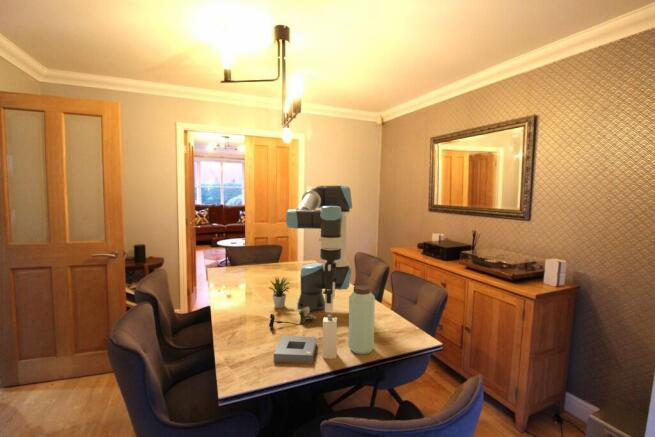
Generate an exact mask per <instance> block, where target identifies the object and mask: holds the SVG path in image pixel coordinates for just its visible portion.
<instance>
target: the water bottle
mask: <svg viewBox="0 0 655 437" xmlns="http://www.w3.org/2000/svg"><path fill="white" fill-rule="evenodd" d="M371 289H372V287H371V286H369V285H366V284H355V285H354V286H353V291H352V293H351V294H350V295H349V296H348V301H349V302H348V348H349V349H350V350H351V351H352V352H353V353H354V354H359V355H366V354H370V353H371V352H372V351H373V349H374V347H375V344H374V342H375V312H376V310H375V309H376V308H375V306H376V304H375V303H376V300H375V299H376V297H375V295H374V294H373V293H372V290H371Z"/></svg>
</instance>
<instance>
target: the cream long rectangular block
mask: <svg viewBox="0 0 655 437" xmlns="http://www.w3.org/2000/svg"><path fill="white" fill-rule="evenodd" d="M337 337H338V317H333V314H327V317H325V316H324V317H323V320H322V359H332V358H336V359H337V352H338V348H337V344H338V343H337V342H338V341H337V340H338V338H337Z"/></svg>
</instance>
